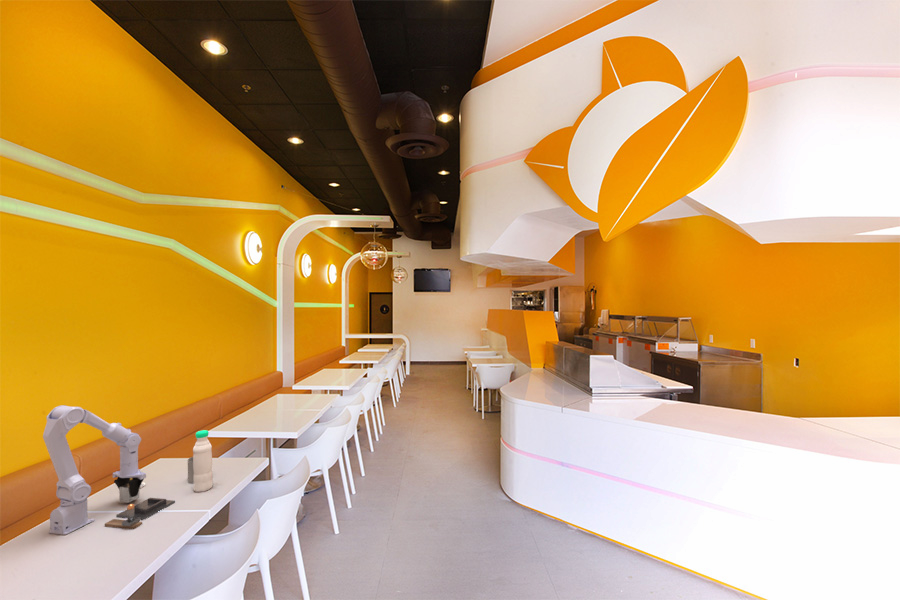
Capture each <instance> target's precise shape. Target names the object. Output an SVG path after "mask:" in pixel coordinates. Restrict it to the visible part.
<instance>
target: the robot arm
mask: <svg viewBox="0 0 900 600" xmlns="http://www.w3.org/2000/svg"><path fill="white" fill-rule="evenodd" d="M78 424H86V425H89V426H90V427H93V428H95V429H97V430H99V431H101V435H102V436H103V438H106V439H107V440H109V441H112V442H114V443H116V444H115V445H117V446H118V447H119V470H118V471H117V470H116V471H115V472H112V478H116V479H114V480H113V483H114V484H115V485H116V487H117V488H118V489H119V487H121V486H123V485H125V484H129V487H130V492H131V497H134V496H136V495H138V491H139V492H140V489H141V488H140V487H141V485H142V484H141V483H142V482H144V480H145V479H146V478H147V473H146V472H143V471H141V469H140V468H139V445H140V444H141V441H142V437H141V436H140V434H138V433H137V432H132V429H130V428H125V427H124V426H123V425H122V423H121V422H117V423H116V422H112V423H109V422H107V421H106V420H104V419H102V418H101V417H99V416H98V415H96V414H95V413H93V412H92V411H89V410H87V409H83V408H82V407H81V406H68V405H65V404H64V405H63V404H62V405H58V406H56V407H53V409H51V411H50V412H49V413H48V415H46V424H45V427H44V431H43V435H42V439H43V441H44V444H45V447H46V450H47V452H48V454H49V458H50V460H51V462H52V465H53V467H54V471H55V474H56V476H57V479H58V481H57V482H56V483H55V484H56V493H55V495H56V498H58V500H60V501H59V502H60V503H59V506H58V507H56V508H55V509H53V510H52V511H51V512H50V515H49V525H50V527H49V528H50V529H49V531H48V534H54V535H55V534H56V535H68V534H71V533H72V532H74V531H76V530H78V529H80V528H81V527H84V526H86V525H88V524H90V523H92V522H94V521H95V519H94V518H88V498H89V496H90V495H91V493H92V487H91V485H89V483H87V482H86V480H85V478H83V477H82V475H81V474H80V472H79V470H78V467H77V464H76V462H75V459H74V456H73V454H72V450H71V448H70V445H69V442H68V440H67V437H66V435H67V434H68V433H69V432H70V431H71V430H72V429H73V428H74V427H76V426H77V425H78ZM130 478H132V480H130Z"/></svg>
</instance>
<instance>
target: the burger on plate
mask: <svg viewBox="0 0 900 600" xmlns="http://www.w3.org/2000/svg"><path fill="white" fill-rule="evenodd" d="M130 480H132V478H130ZM141 485H142V486H140V488H139V489H141V488H143V487H145V486H146V482H144V481H142V483H141Z"/></svg>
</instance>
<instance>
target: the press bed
mask: <svg viewBox="0 0 900 600" xmlns="http://www.w3.org/2000/svg"><path fill="white" fill-rule="evenodd" d="M175 503H176V500H172V499H171V500H170V499H167V498H160V497H159V498H158V497H148V498H146V499H145V500H143V501H141V502H139V503H137V504H134V505H135V507H134V510H135V517H139V518H140V520H142V519H145V520H146V518H147V517H148V518H150V517H152V516H154V515H155V513H156V514H157V513H159V512H161V511H162V509H163V510H164V508H165V509H166V508H168V507H170V506H172V505H173V504H175ZM160 510H161V511H160ZM158 511H159V512H158ZM153 514H154V515H153ZM151 515H152V516H151ZM115 516H116V517H115V518H121V517H122V518H123V519H128V517H127V509H125V510H123V511H122V512H120V513H117V514H115ZM149 516H150V517H149ZM122 518H121V519H122ZM148 518H147V519H148Z"/></svg>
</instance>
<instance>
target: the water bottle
mask: <svg viewBox="0 0 900 600" xmlns="http://www.w3.org/2000/svg"><path fill="white" fill-rule="evenodd" d="M209 433H210V432H209V430H208V429H207V430H206V429H202V430H199V431H196V432H195V438H196V441H195V444H194V446H193V448H192V453H193V454H192V457H193V470H194V477H193V479H194V484H193V491H194V492H196V493H201V492H205V491H208V490H210V489H212V487H213V453H212V452H213V451H212V448H213V446H212V444H211V442H210V440H209V438H208V437H209Z"/></svg>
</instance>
